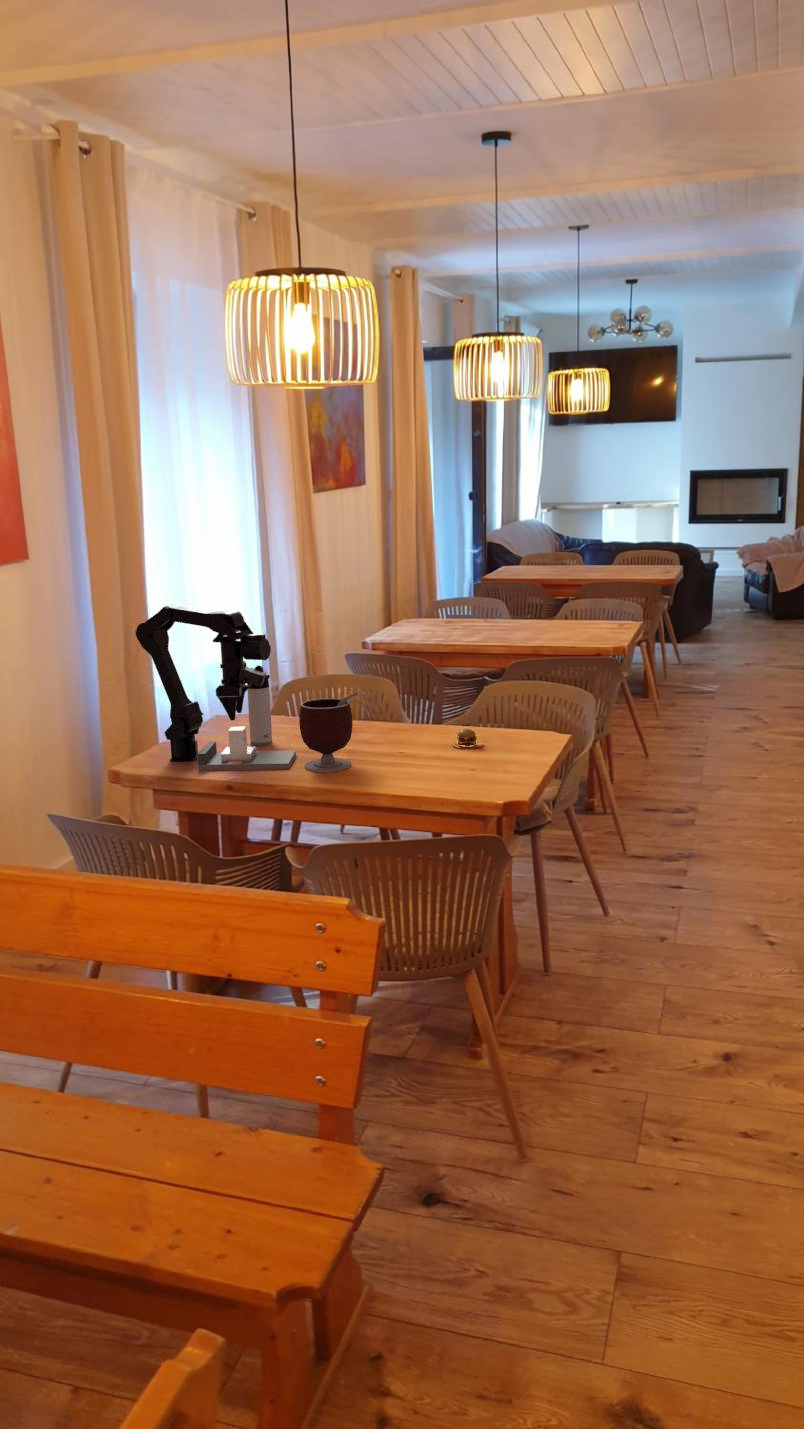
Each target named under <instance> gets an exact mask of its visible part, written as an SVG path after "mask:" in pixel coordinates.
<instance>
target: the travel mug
mask: <svg viewBox="0 0 804 1429" xmlns="http://www.w3.org/2000/svg"><path fill="white" fill-rule="evenodd" d="M270 678H271V676H270V674H266V677H265V679H264V683H263V685H262V686H261V687H259V686H256V685H255V684H252V683H251V686H250V687H249V688H248V690H247V691H246V692H247V708H248V720H249V721H248V724H249V739H250V745H251V746H256V747H264V746H265V747H266V746H270V745H272V743H273V731H272V713H271V694H270V684H269V683H270V682H269V679H270ZM246 685H248V683H246Z"/></svg>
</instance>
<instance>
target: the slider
mask: <svg viewBox="0 0 804 1429" xmlns="http://www.w3.org/2000/svg"><path fill="white" fill-rule="evenodd" d="M227 732H228V744H229V746H226V747H225V749H224V750H223V751H221V752H222V753H221V761H251V760H252V759H253V757H254V756H255V755H256V751H257V746H253V745H251V746H248V738H247V726H230V728H229V729H228V730H227Z"/></svg>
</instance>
